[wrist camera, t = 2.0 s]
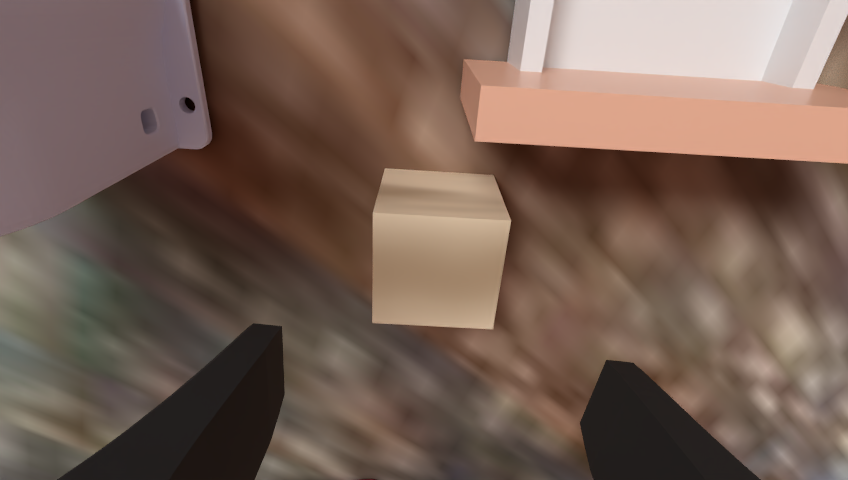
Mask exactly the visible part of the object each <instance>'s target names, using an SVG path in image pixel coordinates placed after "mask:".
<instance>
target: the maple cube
mask: <svg viewBox="0 0 848 480" xmlns="http://www.w3.org/2000/svg"><path fill="white" fill-rule="evenodd" d="M510 225H511V219H510V216H509V214H508V211H507V209H506V206H505V203H504V201H503V198H502V196H501V193H500V190H499V188H498V185H497V183H496V180H495V178H494V175H485V174H469V173H452V172H436V171H420V170H403V169H387V168H385V170H384V174H383V177H382V181H381V185H380V188H379V192H378V196H377V199H376V203H375V207H374V210H373V291H372V323H383V324H401V325H420V326H439V327H458V328H477V329H493V325H494V319H495V313H496V308H497V302H498V296H499V290H500V284H501V278H502V272H503V266H504V260H505V254H506V248H507V243H508V237H509V231H510Z"/></svg>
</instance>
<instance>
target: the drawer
mask: <svg viewBox="0 0 848 480" xmlns="http://www.w3.org/2000/svg"><path fill="white" fill-rule="evenodd" d="M847 14H848V0H516V1H515V8H514V15H513V23H512V30H511V37H510V45H509V52H508V59H507V62H501V61H485V60H469V59H464V62H463V73H462V84H461V95H460V99H461V102H462V105H463V108H464V111H465V114H466V117H467V120H468V122H469V125H470V128H471V131H472V134H473V137H474V140H475V141H479V142H495V143H512V144H529V145H546V146H563V147H579V148H596V149H613V150H630V151H646V152H663V153H680V154H697V155H714V156H730V157H747V158H764V159H781V160H798V161H814V162H831V163H848V89H844V88H838V87H833V86H828V85H823V84H818V83H817V81H818V78H819V76H820V74H821V72H822V69H823V67H824V65H825V63H826V61H827V58H828V56H829V54H830V52H831V50H832V47H833V45H834V43H835V41H836V39H837V36H838V34H839V32H840V30H841V28H842V25H843V23H844V21H845V19H846V17H847Z"/></svg>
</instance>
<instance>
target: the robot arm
mask: <svg viewBox="0 0 848 480" xmlns="http://www.w3.org/2000/svg"><path fill="white" fill-rule="evenodd" d="M186 97H187V98H190V99H191V100H192V101H193V102H194V104H195V110H194V111H192V110H190V109H189V108H188V107H187V106H186V104H185V98H186ZM211 140H212V130H211V124H210V118H209V112H208V107H207V101H206V95H205V89H204V83H203V77H202V71H201V66H200V60H199V54H198V48H197V42H196V36H195V30H194V25H193V19H192V13H191V7H190V1H189V0H0V236H3V235H6V234H9V233H12V232H15V231H18V230H21V229H24V228H27V227H30V226H33V225H35V224H38V223H40V222H42V221H45V220H47V219H50V218H52V217H54V216H56V215H58V214H60V213H62V212H64V211H66V210H68V209H70V208H72V207H74V206H75V205H77V204H79V203H81V202H83V201H84V200H86V199H88V198H90V197H92V196H93V195H95V194H97V193H99V192H101V191H102V190H104V189H106V188H108V187H110V186H111V185H113V184H115V183H117V182H119V181H120V180H122V179H124V178H126V177H128V176H129V175H131V174H133V173H135V172H136V171H138V170H140V169H142V168H144V167H145V166H147V165H149V164H151V163H153V162H154V161H156V160H158V159H160V158H162V157H163V156H165V155H167V154H169V153H171V152H172V151H174V150H176V149H178V148H181V149H202V148H203V147H205V146H207V145H208V144H210V142H211ZM283 398H284V368H283V342H282V326H273V325H263V324H252V325H251V326H249V327H248V328H247V329H246V330H245V331H244V332H243V333H242V334H240V335H239V336H238V337H237V338H236V339H235V340H234V341H233V342H232V343H231V344H229V345H228V346H227V347H226V348H225V349H224V350H223V351H222V352H221V353H219V354H218V355H217V356H216V357H215V358H214V359H213V360H212V361H210V362H209V363H208V364H207V365H206V366H205V367H204V368H203V369H201V370H200V371H199V372H198V373H197V374H196V375H194V376H193V377H192V378H191V379H190V380H188V381H187V382H186V383H185V384H184V385H183V386H181V387H180V388H179V389H178V390H177V391H176V392H174V393H173V394H172V395H171V396H170V397H168V398H167V399H166V400H165V401H163V402H162V403H161V404H160V405H158V406H157V407H156V408H154V409H153V410H152V411H151V412H149V413H148V414H147V415H146V416H144V417H143V418H142V419H140V420H139V421H138V422H137V423H135V424H134V425H133V426H131V427H130V428H129V429H128V430H126V431H125V432H124V433H122V434H121V435H120V436H118V437H117V438H116V439H114V440H113V441H112V442H110V443H109V444H107V445H106V446H105V447H103V448H102V449H101V450H99V451H98V452H96V453H95V454H94V455H92V456H91V457H89V458H88V459H87V460H85V461H84V462H82V463H81V464H79V465H78V466H76V467H75V468H73V469H72V470H71V471H69V472H68V473H66V474H65V475H63V476H62V477H60V478H59V479H57V480H255V477H256V475H257V472H258V470H259V468H260V465H261V463H262V460H263V458H264V456H265V453H266V451H267V448H268V446H269V444H270V441H271V438H272V435H273V432H274V428H275V425H276V422H277V419H278V415H279V412H280V408H281V405H282V401H283ZM580 425H581V430H582V435H583V440H584V445H585V449H586V454H587V458H588V462H589V466H590V470H591V473H592V476H593V479H594V480H760V479H759V478H758V477H757V476H756V475H755V474H753V473H752V472H751V471H750V470H749V469H748V468H747V467H745V466H744V465H743V464H742V463H741V462H740V461H739V460H738V459H736V458H735V457H734V456H733V455H732V454H731V453H730V452H729V451H728V450H726V449H725V448H724V447H723V446H722V445H721V444H720V443H719V442H718V441H717V440H716V439H714V438H713V437H712V436H711V435H710V434H709V433H708V432H707V431H706V430H705V429H704V428H703V427H702V426H700V425H699V424H698V423H697V422H696V421H695V420H694V419H693V418H692V417H691V416H690V415H689V414H688V413H687V412H686V411H685V410H684V409H682V408H681V407H680V406H679V405H678V404H677V403H676V402H675V401H674V400H673V399H672V398H671V397H670V396H669V395H668V394H667V393H666V392H665V391H664V390H662V389H661V388H660V387H659V386H658V385H657V384H656V383H655V382H654V381H653V380H652V379H651V378H650V377H649V376H647V375H646V374H645V373H644V372H643V371H642V370H641V369H640V368H638V367H637V366H636V365H635V364H634V363H630V362H621V361H611V360H606V362H605V365H604V367H603V369H602V372H601V374H600V377H599V379H598V381H597V384H596V386H595V388H594V391H593V393H592V396H591V398H590V400H589V403H588V405H587V407H586V410H585V412H584V415H583V417H582V419H581V422H580Z"/></svg>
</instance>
